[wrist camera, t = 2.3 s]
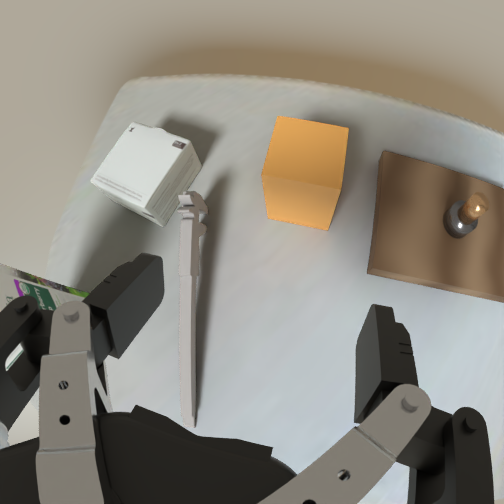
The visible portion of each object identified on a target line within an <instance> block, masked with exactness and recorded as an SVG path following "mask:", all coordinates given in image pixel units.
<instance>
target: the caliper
mask: <svg viewBox="0 0 504 504" xmlns="http://www.w3.org/2000/svg"><path fill="white" fill-rule="evenodd" d="M178 198H179V201H180V203H181V205H183V207H180V208H179V209H178V210H177V212H179V213H182V216H183V219H181V227H180V249H179V276H180V308H179V365H180V402H181V416H182V417H183V425H184V426H185V427H192V428H195V414H196V356H195V336H196V279H197V276H199V260H200V253H199V237H200V236H201V235H203V234H204V233H206V232H207V227H206V226H205V225H204V224H202V223H199V214H208V207H207V206H206V204H205V202H204V200H203V198H202V197H201V195H200V194H198V193H197V192H195V191H187V192H183V195H178Z"/></svg>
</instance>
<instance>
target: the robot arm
mask: <svg viewBox="0 0 504 504" xmlns="http://www.w3.org/2000/svg"><path fill="white" fill-rule="evenodd" d="M163 296H164V276H163V261H162V258H161V257H160V256H156V255H151V254H147V253H141V254H140V255H139V256H138V257H137V258H136V259H135V260H134V261H133V262H127V263H125V264H123V265H121V266H119V267H117V268H116V269H115V270H114V271H113V272H112V273H111V274H110V276H108V277H107V278H106V279H104V282H101V283H100V284H99V285H98V286H97V287H96V288H95V289H94V290H93V291H92V292H91V293H90V294H89V295H88V296H87V297H86V298H85V299H84V300H83V301H82V302H81V301H69V302H66V303H63V304H62V305H60V306H59V307H57V308H56V310H47V309H40V308H39V305H38V302H37V300H36V298H34V297H33V296H28V295H25V296H20V297H17V298H15V299H14V300H12V301H11V302H10V303H9V304H8V305H7V306H6V307H5V308H4V309H3V310H2V311H1V312H0V504H357V503H358V502H359V501H360V500H361V499H362V498H363V497H364V496H365V495H366V494H367V493H368V492H369V491H370V490H371V489H372V488H373V487H374V486H375V484H376V483H377V482H378V481H379V480H380V479H381V478H382V477H383V476H384V474H385V473H386V472H387V471H388V470H389V469H390V468H391V466H392V465H393V464H394V463H395V462H398V463H401V464H403V465H406V466H409V467H410V472H409V489H408V501H407V504H494V488H493V474H492V463H491V454H490V446H489V439H488V433H487V426H486V422H485V420H484V418H483V416H482V415H481V414H480V413H479V412H478V411H476V410H475V409H473V408H470V407H462V408H460V409H458V410H457V411H456V412H455V413H454V414H453V415H452V414H449V413H447V412H444V411H442V410H439V409H437V408H434V407H433V406H431V401H430V399H429V397H428V395H427V394H426V393H425V391H423V390H422V389H421V388H419V386H418V379H417V373H416V367H415V361H414V356H413V350H412V347H411V340H410V335H409V333H408V331H407V330H406V328H405V327H404V325H403V324H402V323H397V322H395V318H394V312H393V308H392V307H386V306H381V305H376V304H372V305H371V307H370V309H369V312H368V315H367V317H366V320H365V322H364V324H363V327H362V329H361V332H360V334H359V337H358V340H357V345H356V383H355V413H354V423H360V425H359V426H358V427H356V426H355V427H354V428H353V429H351V430H350V431H349V432H348V433H347V434H346V435H345V436H344V437H343V438H341V439H340V440H339V441H338V442H337V443H336V444H335V445H334V446H332V447H331V448H330V449H329V450H328V451H327V452H325V453H324V454H323V455H322V456H321V457H320V458H318V459H317V460H316V461H315V462H313V463H312V464H311V465H310V466H308V467H307V468H306V469H305V470H303V471H302V472H301V473H300V474H298V475H297V474H296V473H295V472H294V471H293V470H292V469H291V468H290V467H288V466H287V465H286V464H284V463H283V462H281V461H279V460H278V459H276V458H274V457H271V453H272V449H273V447H269V446H264V445H260V444H256V443H251V442H247V441H243V440H239V439H229V438H214V437H202V436H197V435H195V434H193V433H192V432H190V431H188V430H187V429H185V428H183V427H182V426H180V425H179V424H177V423H176V422H174V421H172V420H171V419H169V418H168V417H166V416H163V415H161V414H158V413H156V412H153V411H150V410H148V409H145V408H143V407H140V406H138V405H135V407H134V409H133V410H132V412H131V413H129V412H113V409H112V405H111V401H110V394H109V387H108V379H107V371H106V363H105V358H106V357H107V356H108V355H110V356H113V357H115V358H118V359H119V358H120V357H121V356H122V354H123V353H124V351H125V350H126V349H127V347H128V346H129V345H130V343H131V342H132V341H133V339H134V338H135V337H136V335H137V334H138V333H139V331H140V330H141V329H142V327H143V326H144V325H145V323H146V322H147V321H148V319H149V318H150V317H151V316H152V314H153V313H154V312H155V310H156V309H157V308H158V306H159V305H160V304H161V302H162V299H163ZM19 344H21V347H22V349H23V352H22V353H21V355H20V356H19V357H18V358H17V359H16V361H15V362H14V363H13V364H12V365H11V367H10V368H9V369H8V370H7V371H6V367H5V363H6V360H7V358H8V357H9V355H10V354H11V353H12V352H13V351H14V350H15V348H16V347H17V346H18V345H19ZM39 387H40V388H39ZM38 388H39V437H37V438H34V439H31V440H28V441H25V442H22V443H18V444H15V445H12V446H10V445H9V443H8V441H7V440H8V431H9V430H10V428H11V427H12V425H13V423H14V422H15V421H16V419H17V418H18V416H19V415H20V413H21V412H22V410H23V409H24V408H25V406H26V405H27V403H28V402H29V400H30V399H31V398H32V396H33V395H34V393H35V392H36V391H37V389H38Z"/></svg>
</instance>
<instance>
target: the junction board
mask: <svg viewBox="0 0 504 504" xmlns="http://www.w3.org/2000/svg"><path fill="white" fill-rule="evenodd" d="M476 192H481V193H483V194H484V195H485V196H486V197H487V199H488V201H489V209H488V211H486V212H485V213H484V214H483V215H481V216H480V217H479V218H478V224H477V227H476V228H475V229H474V230H473V231H472V232H470V233H469V234H467V235H466V236H465V237H463V238H461V239H456V238H453V237H452V236H450V235H449V234H448V233H447V231H446V230H445V228H444V225H443V216H444V214H445V212H446V211H447V210H448V209H449V208H450V207H451V206H452V205H453V204H454V203H455V202H457V201H459V200H463V201H467V200H468V199H469V198H470V197H471V196H472V195H473V194H474V193H476ZM367 274H371V275H376V276H381V277H385V278H390V279H395V280H400V281H404V282H409V283H414V284H418V285H423V286H428V287H433V288H437V289H442V290H447V291H451V292H456V293H461V294H465V295H470V296H475V297H479V298H484V299H489V300H493V301H498V302H504V189H503V188H500V187H498V186H495V185H493V184H490V183H487V182H485V181H482V180H479V179H476V178H473V177H471V176H468V175H465V174H462V173H459V172H456V171H453V170H450V169H447V168H444V167H440V166H437V165H434V164H431V163H427V162H424V161H420V160H417V159H413V158H410V157H406V156H402V155H399V154H395V153H391V152H387V151H383V153H382V155H381V158H380V160H379V168H378V182H377V194H376V205H375V215H374V224H373V233H372V241H371V248H370V256H369V263H368V269H367Z"/></svg>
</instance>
